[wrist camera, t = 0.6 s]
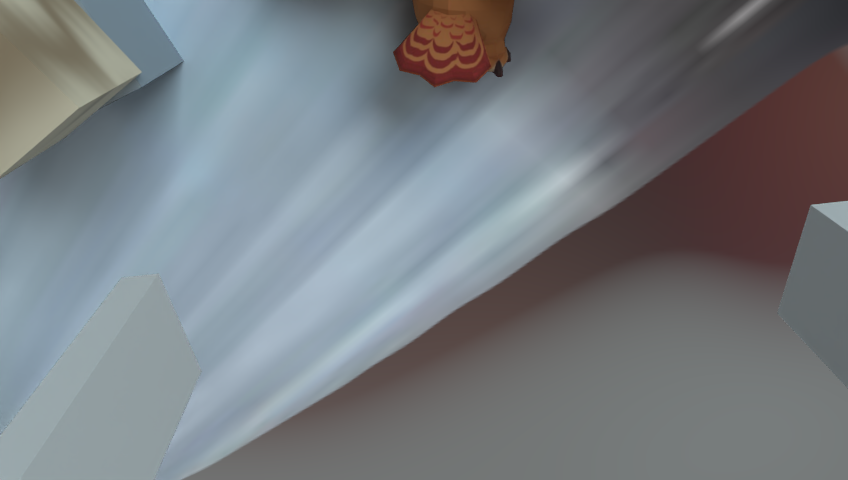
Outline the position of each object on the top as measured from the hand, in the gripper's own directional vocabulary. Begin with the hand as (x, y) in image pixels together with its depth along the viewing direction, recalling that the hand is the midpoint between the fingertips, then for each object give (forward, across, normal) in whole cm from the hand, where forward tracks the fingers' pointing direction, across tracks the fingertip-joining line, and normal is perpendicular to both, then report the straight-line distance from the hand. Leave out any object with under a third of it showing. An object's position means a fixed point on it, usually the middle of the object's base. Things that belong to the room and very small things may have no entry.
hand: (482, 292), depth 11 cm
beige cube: (+19, -19, +3) cm, 27 cm away
